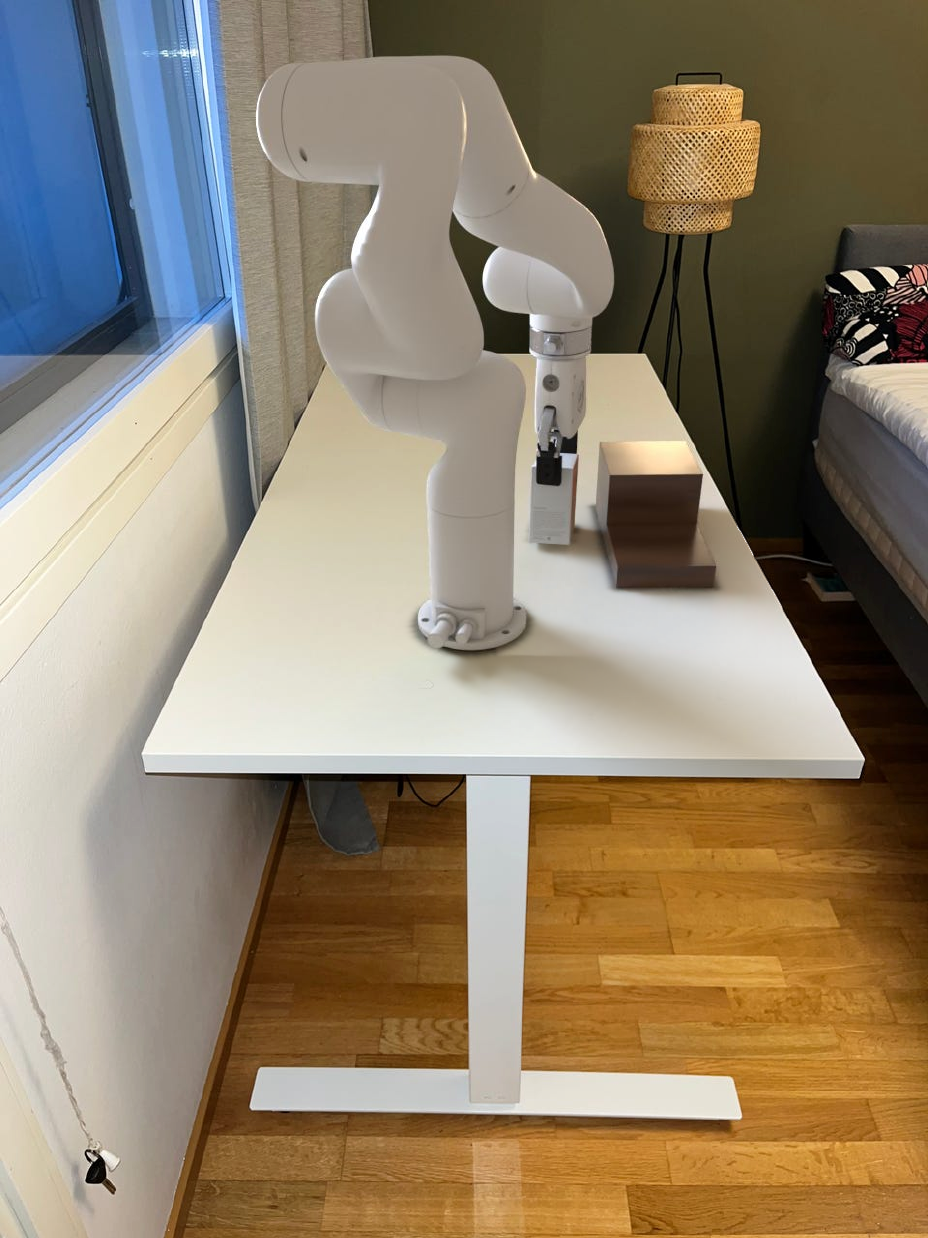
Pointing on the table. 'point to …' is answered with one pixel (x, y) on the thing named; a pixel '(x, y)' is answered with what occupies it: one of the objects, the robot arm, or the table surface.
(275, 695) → the table surface
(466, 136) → the robot arm
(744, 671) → the table surface
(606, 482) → the step shelf
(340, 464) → the table surface
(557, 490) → the small box
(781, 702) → the table surface
